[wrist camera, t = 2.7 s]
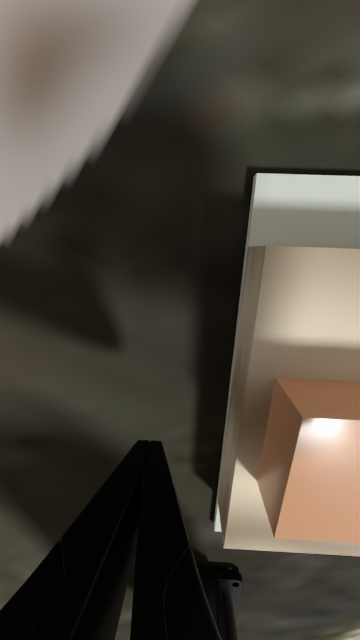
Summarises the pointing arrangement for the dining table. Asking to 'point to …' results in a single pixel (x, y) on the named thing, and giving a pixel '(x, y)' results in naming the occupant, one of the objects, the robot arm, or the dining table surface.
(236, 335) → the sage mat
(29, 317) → the dining table surface
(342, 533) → the terracotta tile
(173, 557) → the robot arm
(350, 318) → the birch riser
